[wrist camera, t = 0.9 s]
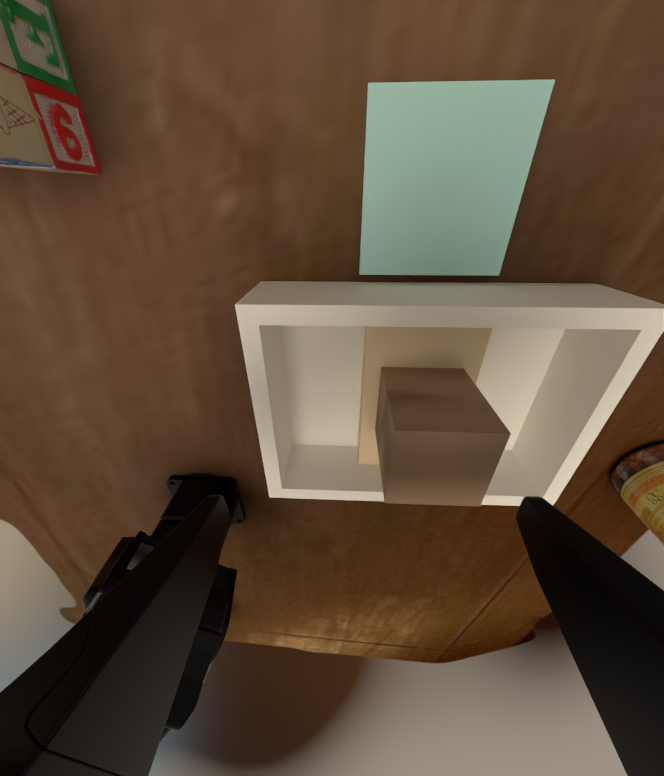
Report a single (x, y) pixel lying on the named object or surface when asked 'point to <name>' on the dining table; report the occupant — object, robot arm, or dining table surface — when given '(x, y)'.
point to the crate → (436, 350)
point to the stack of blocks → (39, 95)
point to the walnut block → (436, 437)
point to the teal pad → (446, 173)
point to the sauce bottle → (644, 486)
